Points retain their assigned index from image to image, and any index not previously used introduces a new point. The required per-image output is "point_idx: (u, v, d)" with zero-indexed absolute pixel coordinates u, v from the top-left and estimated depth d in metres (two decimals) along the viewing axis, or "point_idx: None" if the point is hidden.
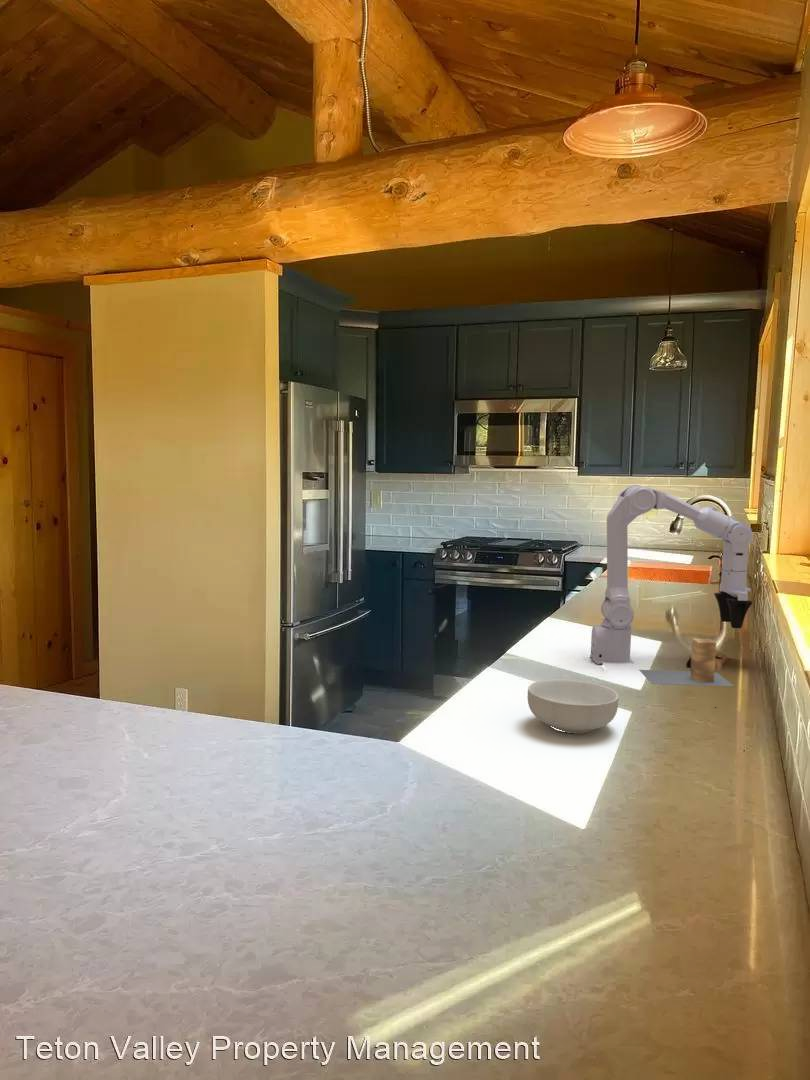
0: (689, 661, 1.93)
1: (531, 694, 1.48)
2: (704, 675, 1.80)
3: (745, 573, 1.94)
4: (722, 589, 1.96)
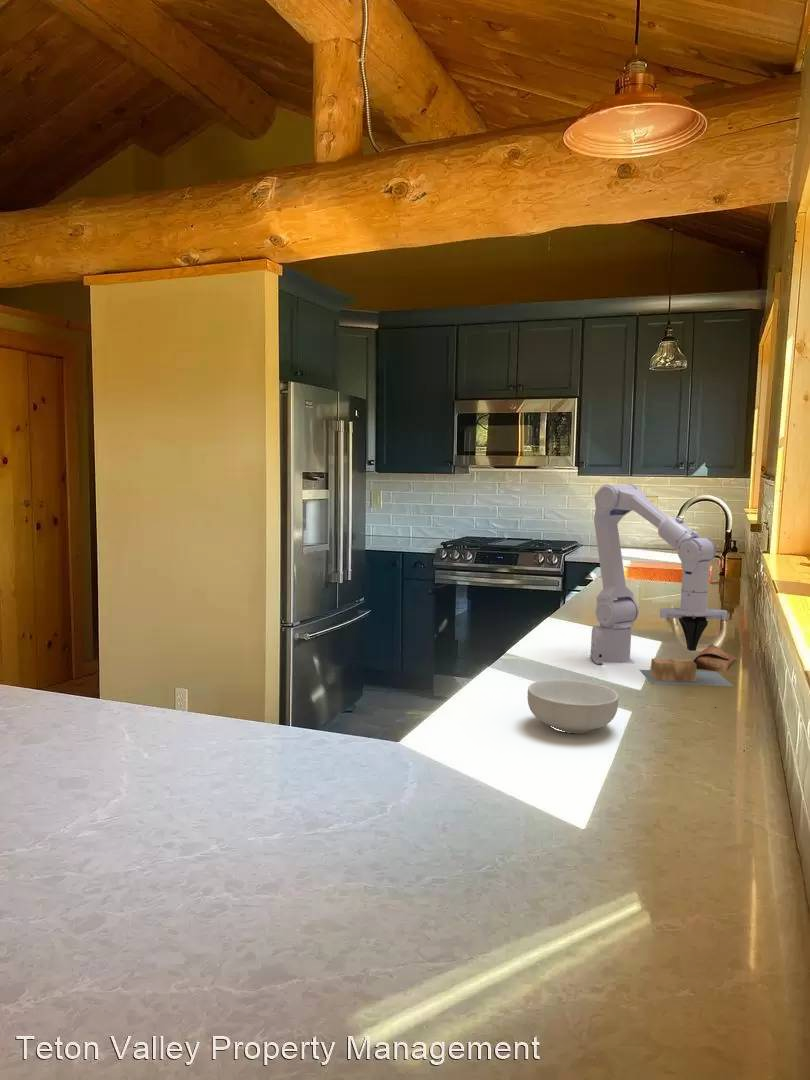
0: None
1: (530, 694, 1.48)
2: (689, 673, 1.80)
3: (688, 594, 1.79)
4: None
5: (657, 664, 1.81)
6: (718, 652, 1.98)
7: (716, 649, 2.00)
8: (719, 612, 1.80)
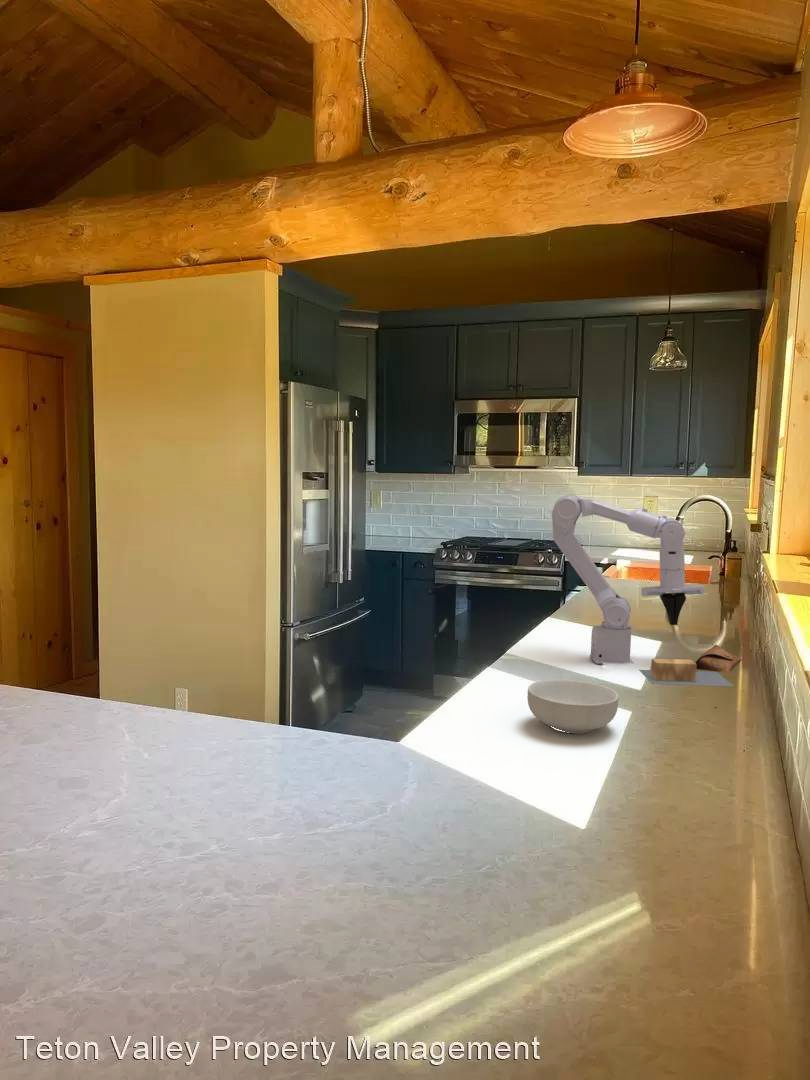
0: (697, 662, 1.92)
1: (530, 694, 1.48)
2: (689, 673, 1.80)
3: (666, 572, 1.92)
4: None
5: (657, 664, 1.81)
6: (722, 653, 1.98)
7: (720, 650, 1.99)
8: (696, 587, 1.93)
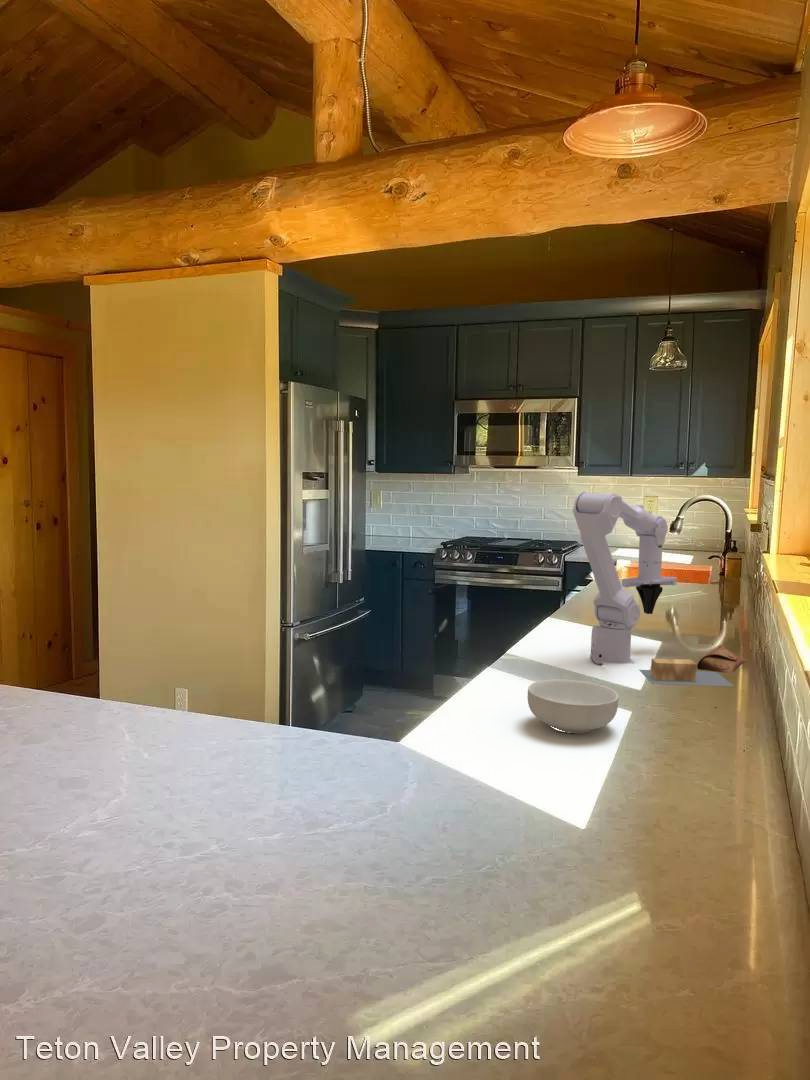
0: (700, 662, 1.91)
1: (531, 693, 1.48)
2: (689, 673, 1.80)
3: (647, 564, 2.05)
4: None
5: (657, 664, 1.81)
6: (726, 653, 1.97)
7: (724, 650, 1.99)
8: (670, 579, 2.08)
